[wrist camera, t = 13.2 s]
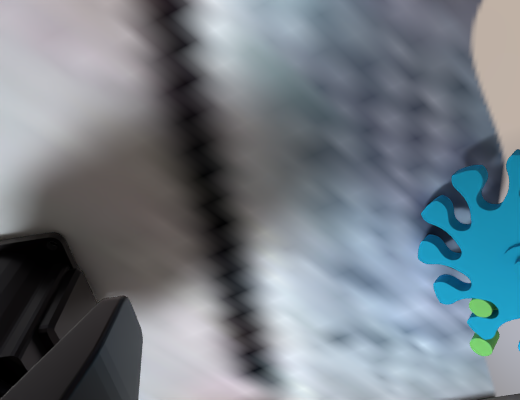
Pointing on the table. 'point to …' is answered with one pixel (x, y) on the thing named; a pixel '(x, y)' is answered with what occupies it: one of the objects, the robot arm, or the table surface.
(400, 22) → the table surface
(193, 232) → the table surface
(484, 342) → the blue virus toy
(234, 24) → the table surface
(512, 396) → the mouse tray
